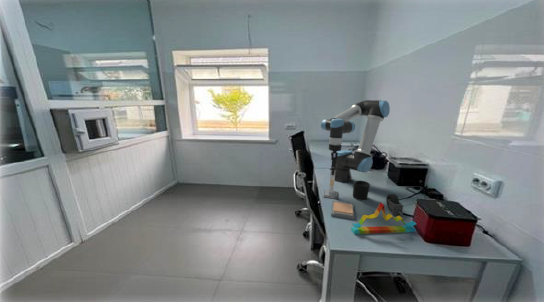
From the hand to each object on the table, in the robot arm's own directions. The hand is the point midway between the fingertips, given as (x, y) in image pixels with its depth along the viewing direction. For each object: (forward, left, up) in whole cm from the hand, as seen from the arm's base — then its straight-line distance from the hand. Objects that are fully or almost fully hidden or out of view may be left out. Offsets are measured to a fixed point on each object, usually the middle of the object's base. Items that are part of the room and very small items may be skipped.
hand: (332, 175), depth 135 cm
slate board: (+19, +7, -13) cm, 24 cm away
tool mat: (0, 0, -13) cm, 13 cm away
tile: (+16, +7, -11) cm, 21 cm away
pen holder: (-2, +18, -14) cm, 23 cm away
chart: (+33, +25, -14) cm, 44 cm away
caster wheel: (+11, +35, -14) cm, 39 cm away
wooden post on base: (0, 0, -13) cm, 13 cm away
